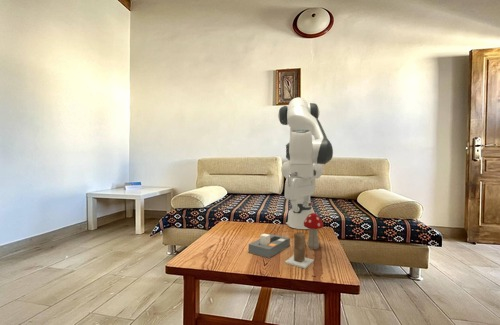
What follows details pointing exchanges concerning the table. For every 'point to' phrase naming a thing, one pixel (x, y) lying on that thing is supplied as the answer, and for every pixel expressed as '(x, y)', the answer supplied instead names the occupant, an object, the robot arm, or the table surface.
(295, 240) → the brown wooden beam
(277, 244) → the switch panel
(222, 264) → the table surface
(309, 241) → the decorative mushroom
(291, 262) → the pad
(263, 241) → the switch tab
